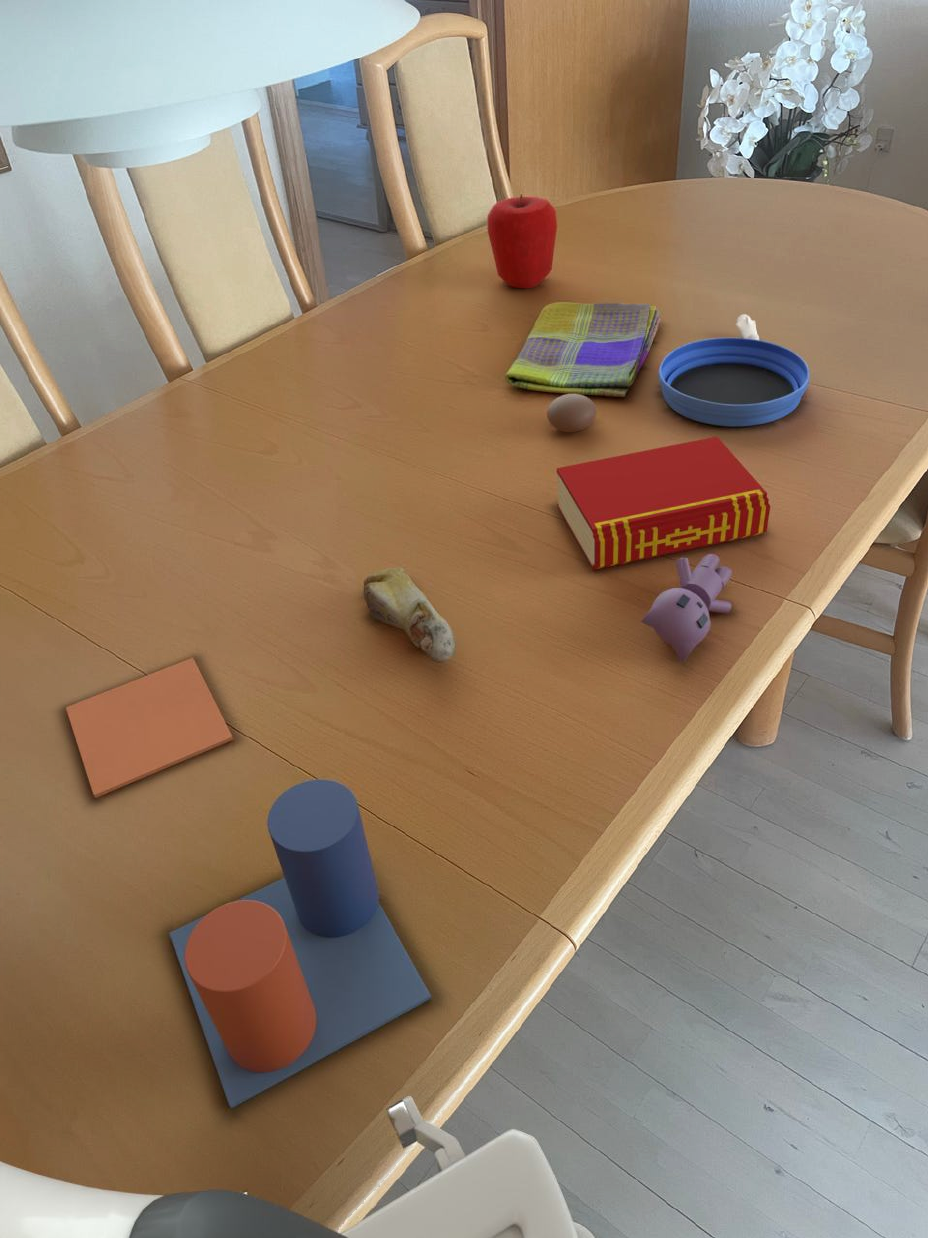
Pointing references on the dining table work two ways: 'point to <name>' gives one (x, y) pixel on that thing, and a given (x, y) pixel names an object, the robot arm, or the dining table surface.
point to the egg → (571, 412)
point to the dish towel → (585, 348)
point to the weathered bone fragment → (408, 612)
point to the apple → (522, 239)
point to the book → (660, 502)
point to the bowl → (733, 381)
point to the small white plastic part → (747, 327)
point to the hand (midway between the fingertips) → (319, 1152)
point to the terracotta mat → (146, 726)
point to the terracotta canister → (251, 985)
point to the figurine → (689, 605)
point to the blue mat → (322, 989)
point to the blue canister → (324, 857)
